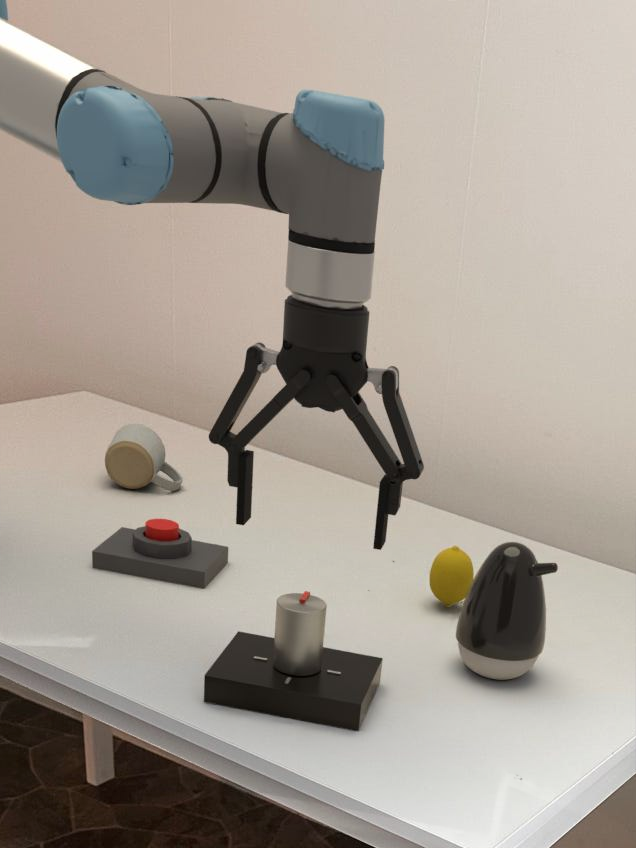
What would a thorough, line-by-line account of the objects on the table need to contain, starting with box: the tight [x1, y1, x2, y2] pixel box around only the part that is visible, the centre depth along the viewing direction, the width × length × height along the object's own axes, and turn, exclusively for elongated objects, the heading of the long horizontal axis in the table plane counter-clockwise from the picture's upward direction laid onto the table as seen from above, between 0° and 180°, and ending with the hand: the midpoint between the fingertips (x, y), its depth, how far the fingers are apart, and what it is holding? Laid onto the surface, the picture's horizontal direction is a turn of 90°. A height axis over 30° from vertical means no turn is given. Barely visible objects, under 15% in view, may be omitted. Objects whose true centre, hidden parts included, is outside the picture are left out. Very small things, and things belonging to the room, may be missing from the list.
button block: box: [91, 525, 229, 589], centre depth 147 cm, size 14×10×4 cm
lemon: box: [429, 545, 475, 608], centre depth 149 cm, size 6×6×8 cm
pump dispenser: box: [455, 541, 559, 681], centre depth 133 cm, size 10×10×15 cm
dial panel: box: [203, 630, 384, 732], centre depth 124 cm, size 16×12×3 cm
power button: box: [144, 518, 180, 541], centre depth 146 cm, size 4×4×2 cm
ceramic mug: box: [104, 423, 184, 492], centre depth 172 cm, size 11×8×8 cm
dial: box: [273, 590, 328, 676], centre depth 121 cm, size 5×5×7 cm
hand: (311, 533), depth 116 cm, fingers open, 13 cm apart
